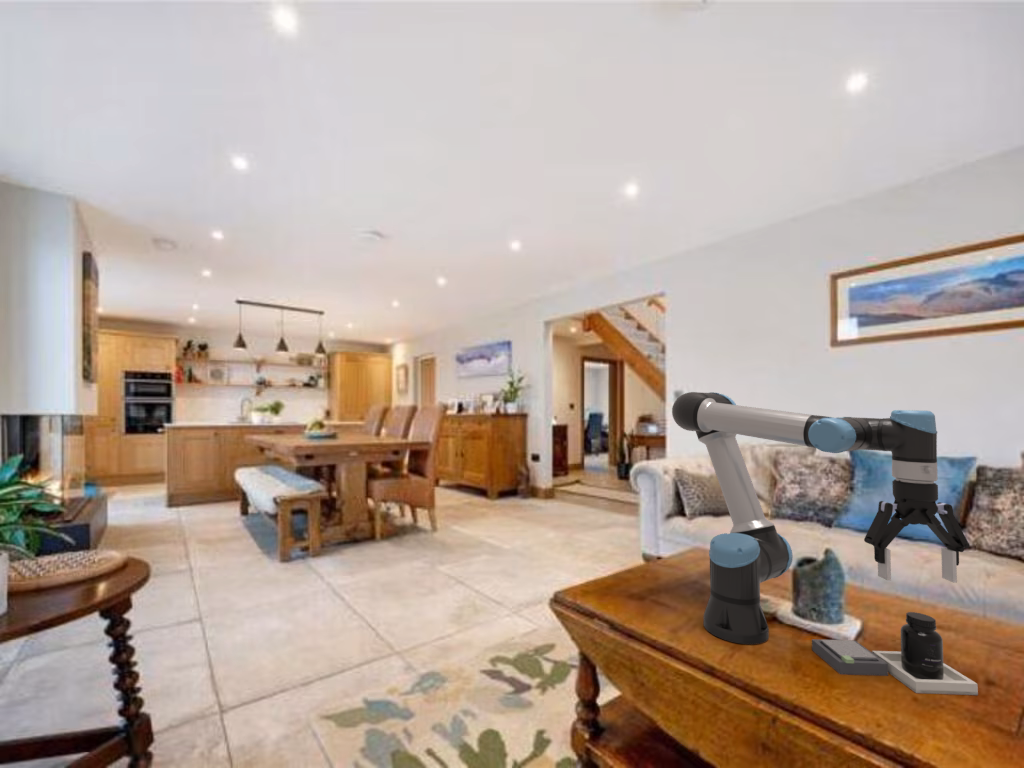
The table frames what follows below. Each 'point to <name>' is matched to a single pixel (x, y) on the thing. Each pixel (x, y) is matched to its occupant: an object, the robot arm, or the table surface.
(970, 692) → the dish
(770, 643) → the table surface
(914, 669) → the supplement bottle
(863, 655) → the grey square tile
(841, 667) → the grey square framed panel
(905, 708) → the table surface
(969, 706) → the table surface
